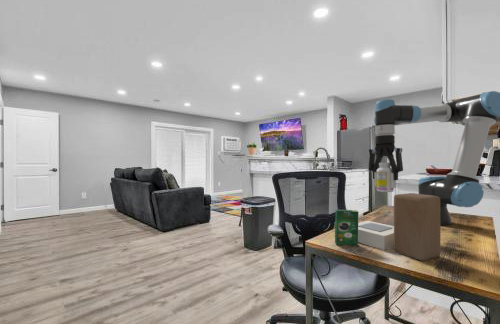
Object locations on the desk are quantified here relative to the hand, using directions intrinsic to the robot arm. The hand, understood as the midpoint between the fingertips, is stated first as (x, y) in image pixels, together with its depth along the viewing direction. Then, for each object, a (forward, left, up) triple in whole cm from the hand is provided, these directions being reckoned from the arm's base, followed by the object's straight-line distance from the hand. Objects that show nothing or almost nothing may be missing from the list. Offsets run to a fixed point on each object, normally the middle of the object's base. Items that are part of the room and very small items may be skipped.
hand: (385, 186), depth 109 cm
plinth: (+15, +4, -20) cm, 25 cm away
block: (+18, +20, -20) cm, 33 cm away
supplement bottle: (0, 0, -2) cm, 2 cm away
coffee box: (+29, +1, -20) cm, 35 cm away
